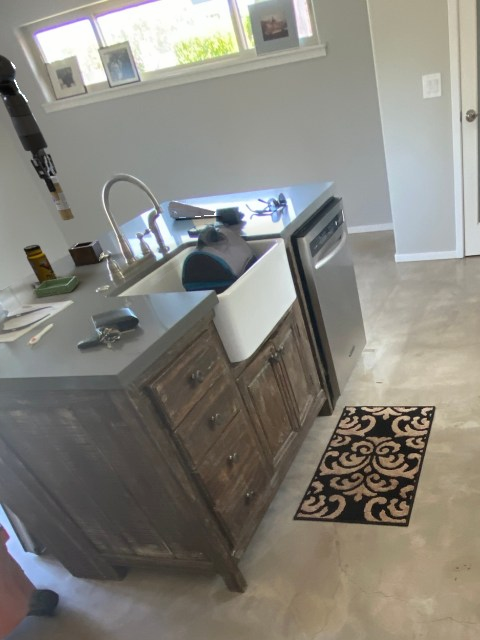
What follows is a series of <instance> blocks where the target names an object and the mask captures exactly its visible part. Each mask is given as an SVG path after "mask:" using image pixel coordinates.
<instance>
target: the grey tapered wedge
mask: <svg viewBox="0 0 480 640" xmlns="http://www.w3.org/2000/svg"><path fill="white" fill-rule="evenodd" d="M167 209H168V213H169V218H171V219H172V220H191V219H208V218H210V219H211V218H216V217H215V216H204V215H214V213H215V212H216V211H214V210H212V209H209V208H203V207H200V206H197V205H193V204H189V203H184V202H180V201H176V200H173V199H172V200H170V201H169V203H168V205H167ZM195 216H201V217H195ZM179 217H186V218H179Z"/></svg>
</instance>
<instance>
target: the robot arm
mask: <svg viewBox="0 0 480 640" xmlns="http://www.w3.org/2000/svg"><path fill="white" fill-rule="evenodd" d="M16 76H17V71H16V67H15V65H14V64H13V63H12V61H11V60H10V59H9V58H7V56H5V55H3V54H0V99H1V100H2V103H3V105H4V107H5V109H6V112H7V114H8V116H9V118H10V121H11V124H12V126H13V129H14V130H15V131H14V132H15V133H16V135H17V137H18V140H19V141H20V143H21V146H22V148H23V149H24V151H25V152H30V153H31V157H32V159H30V163H31V165H32V167H33V168H34V170H35V172H36V173H37V175H38V177H39V179H40V180H42V181H43V182H44V181H45V182H44V184H45V183H46V184H45V185H46V187H47V189H48V191H49V193H50V192H55V191H56V188H55V186H54V184H53V182H52V180H51V177H50V176H56V177H57V174H58V172H57V169H56V167H55V164H54V161H53V158H52V155H51V153H47V152H46V151H45V149H47V148H48V147H49V146H48V144H47V143H48V142H47V141H46V139H45V136H44V134H43V132H42V130H41V127H40V125H39V123H38V121H37V120H36V117H35V116H34V114H33V111H32V109H31V107H30V105H29V103H28V100H27V99H26V97H25V95H24V94H23V93H22V92H21V91H20V89H19V87H18V85H17V82H16V80H15V79H16Z"/></svg>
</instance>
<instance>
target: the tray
mask: <svg viewBox="0 0 480 640" xmlns="http://www.w3.org/2000/svg"><path fill="white" fill-rule="evenodd" d="M79 283H80V281H79V279H78V277H77V275H71V276H66V277H61V278H58V279H54V280H48V281H44V282H43V283H42V284H40V285H39V286H38V287H37V288H36V287H35V289H34V290H33V292H34V294H35V295H36V297H37V298H44V297H48V296H55V295H60V294H66V293H67V294H68V293H71V292H72V291H74V289H75V288H76V287H77V286H78V285H79Z"/></svg>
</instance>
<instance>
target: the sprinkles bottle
mask: <svg viewBox="0 0 480 640" xmlns="http://www.w3.org/2000/svg"><path fill="white" fill-rule="evenodd" d="M50 177H51V180H52V182H53V184H54V186H55V188H56V191H55V192H50V191H49V193H50V197H51V198H52V201H53V203H54V205H55V207H56V209H57V211H58V214H59V215H60V218H61V219H60V220H62V221H70V220H73V219H75V215H74V213H73V211H72V210H71V209H72V208H71V207H70V204H69V202H68V199H67V197H66V194H65V193H64V191H63V189H62V187H61V184H60V182H59V178H58V176H57V175H56V176H50ZM43 182H44V184H45V185H46V183H45V181H44V180H43Z"/></svg>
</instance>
